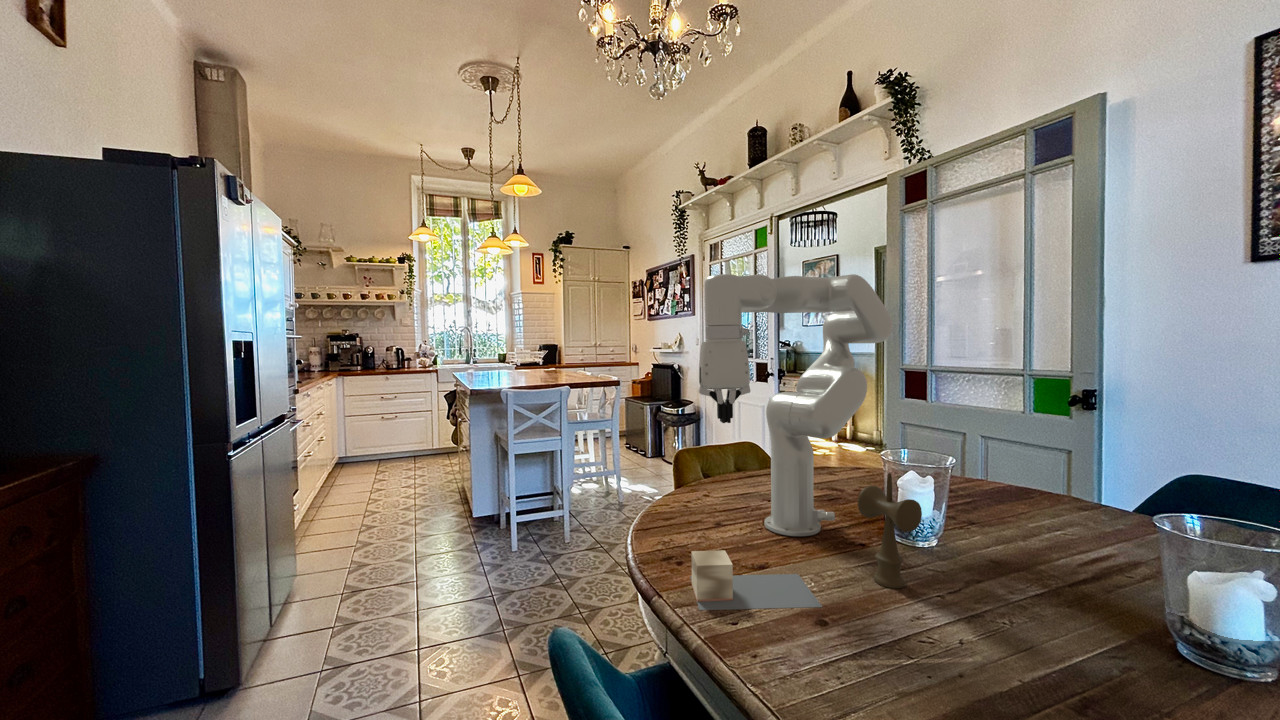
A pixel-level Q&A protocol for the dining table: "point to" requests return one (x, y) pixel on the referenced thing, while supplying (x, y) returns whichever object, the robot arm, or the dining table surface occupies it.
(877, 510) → the kendama
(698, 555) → the birch cube
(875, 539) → the dining table surface
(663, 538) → the dining table surface
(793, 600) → the slate mat
